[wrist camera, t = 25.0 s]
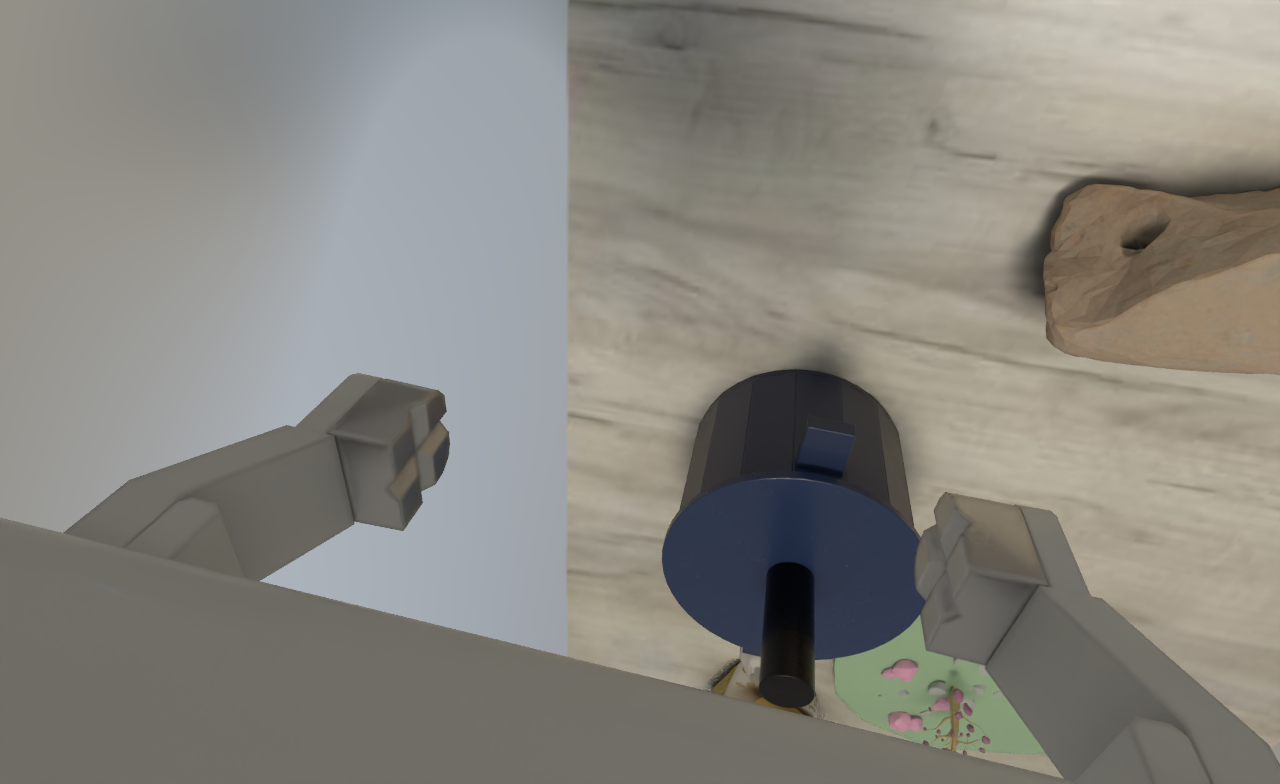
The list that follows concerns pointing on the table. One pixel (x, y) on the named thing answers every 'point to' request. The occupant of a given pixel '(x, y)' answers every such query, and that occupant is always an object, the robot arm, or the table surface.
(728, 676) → the juice carton
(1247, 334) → the decorative stone
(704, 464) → the cooking pot
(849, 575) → the lid
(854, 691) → the plant
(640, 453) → the table surface
